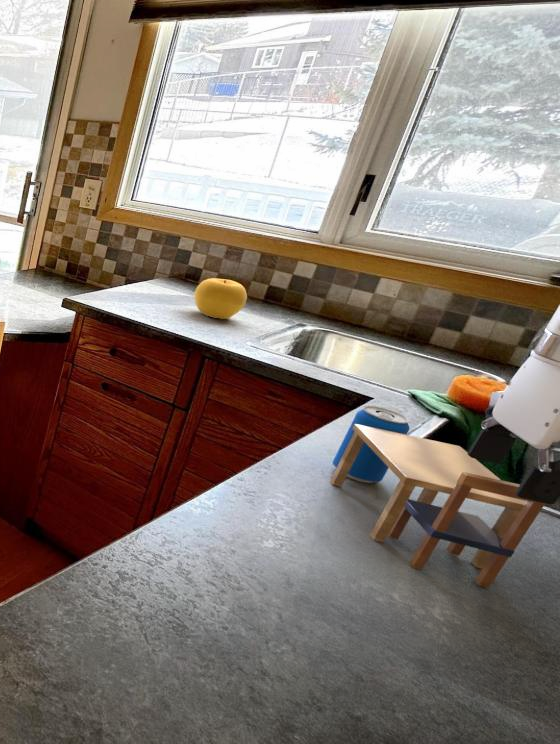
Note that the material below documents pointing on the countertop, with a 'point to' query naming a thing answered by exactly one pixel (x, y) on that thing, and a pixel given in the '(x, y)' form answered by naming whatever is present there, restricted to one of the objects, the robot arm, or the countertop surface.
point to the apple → (220, 298)
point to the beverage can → (367, 461)
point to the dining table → (423, 477)
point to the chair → (467, 525)
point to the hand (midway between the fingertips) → (506, 478)
